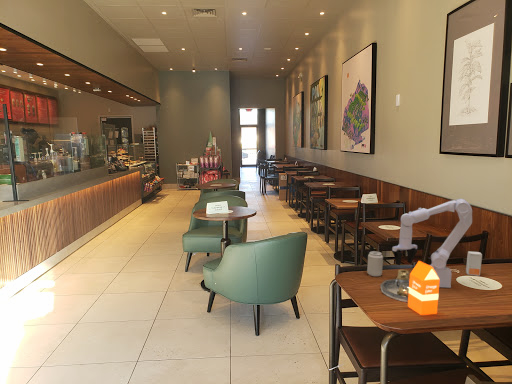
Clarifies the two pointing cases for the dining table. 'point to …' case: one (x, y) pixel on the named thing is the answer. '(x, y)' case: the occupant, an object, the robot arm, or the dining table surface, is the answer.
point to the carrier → (396, 289)
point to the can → (375, 263)
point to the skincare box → (473, 263)
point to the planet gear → (403, 274)
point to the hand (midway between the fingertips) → (403, 263)
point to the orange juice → (423, 289)
